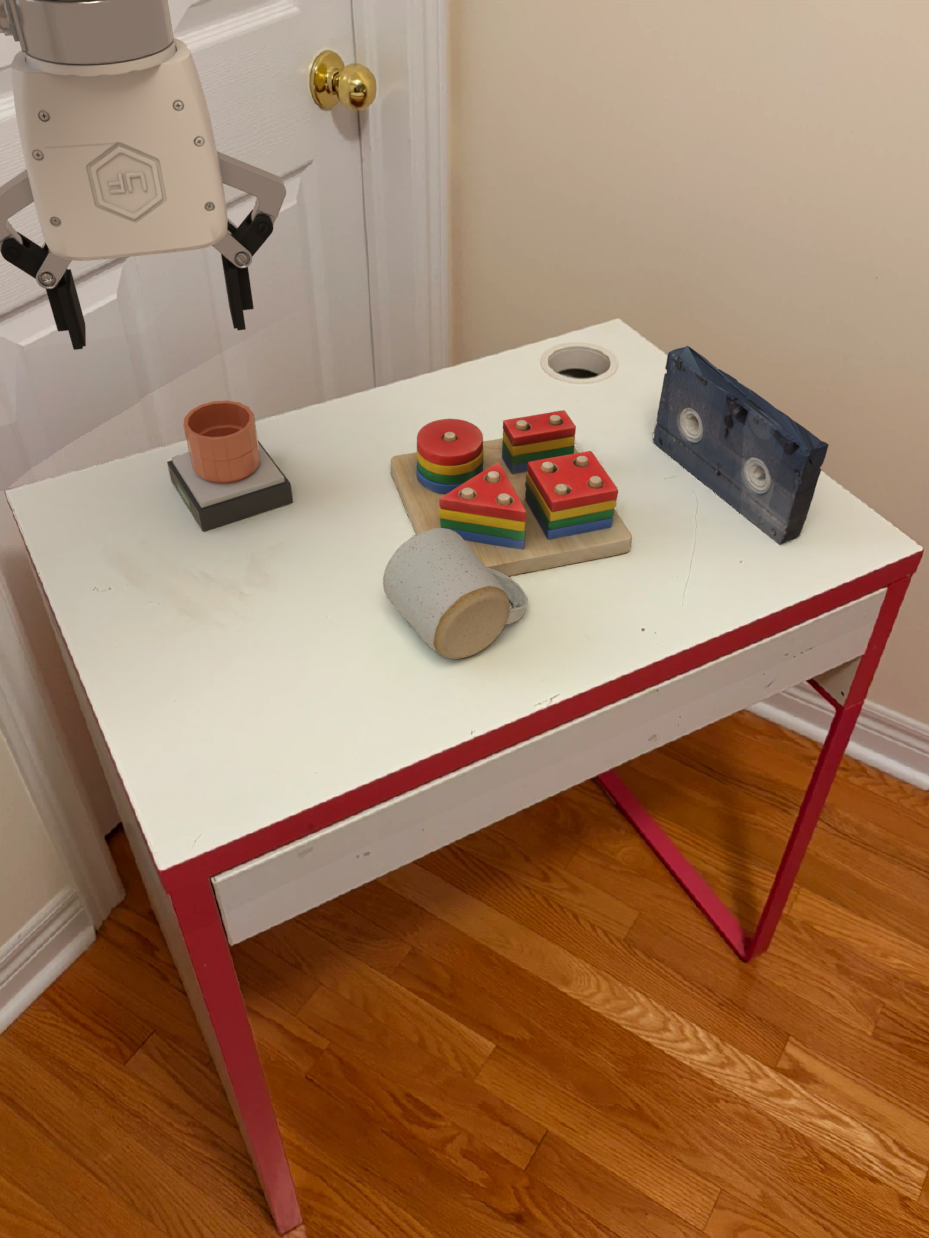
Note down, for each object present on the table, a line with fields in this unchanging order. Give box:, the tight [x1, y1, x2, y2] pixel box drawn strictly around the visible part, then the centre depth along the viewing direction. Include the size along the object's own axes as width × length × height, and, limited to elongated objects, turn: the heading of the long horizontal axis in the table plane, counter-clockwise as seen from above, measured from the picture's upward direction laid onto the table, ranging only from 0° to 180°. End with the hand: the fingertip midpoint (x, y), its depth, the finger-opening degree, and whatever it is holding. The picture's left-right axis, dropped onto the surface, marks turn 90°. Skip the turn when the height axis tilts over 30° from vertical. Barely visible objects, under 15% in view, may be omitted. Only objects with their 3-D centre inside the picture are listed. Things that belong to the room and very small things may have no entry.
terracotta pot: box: [182, 400, 260, 484], centre depth 93 cm, size 6×6×5 cm
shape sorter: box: [390, 409, 633, 577], centre depth 93 cm, size 18×17×6 cm
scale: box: [166, 440, 294, 533], centre depth 95 cm, size 9×9×3 cm
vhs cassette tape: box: [652, 345, 830, 545], centre depth 94 cm, size 18×3×10 cm, turn 29°
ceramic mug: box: [382, 528, 528, 660], centre depth 82 cm, size 11×8×8 cm
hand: (160, 329), depth 65 cm, fingers open, 9 cm apart
